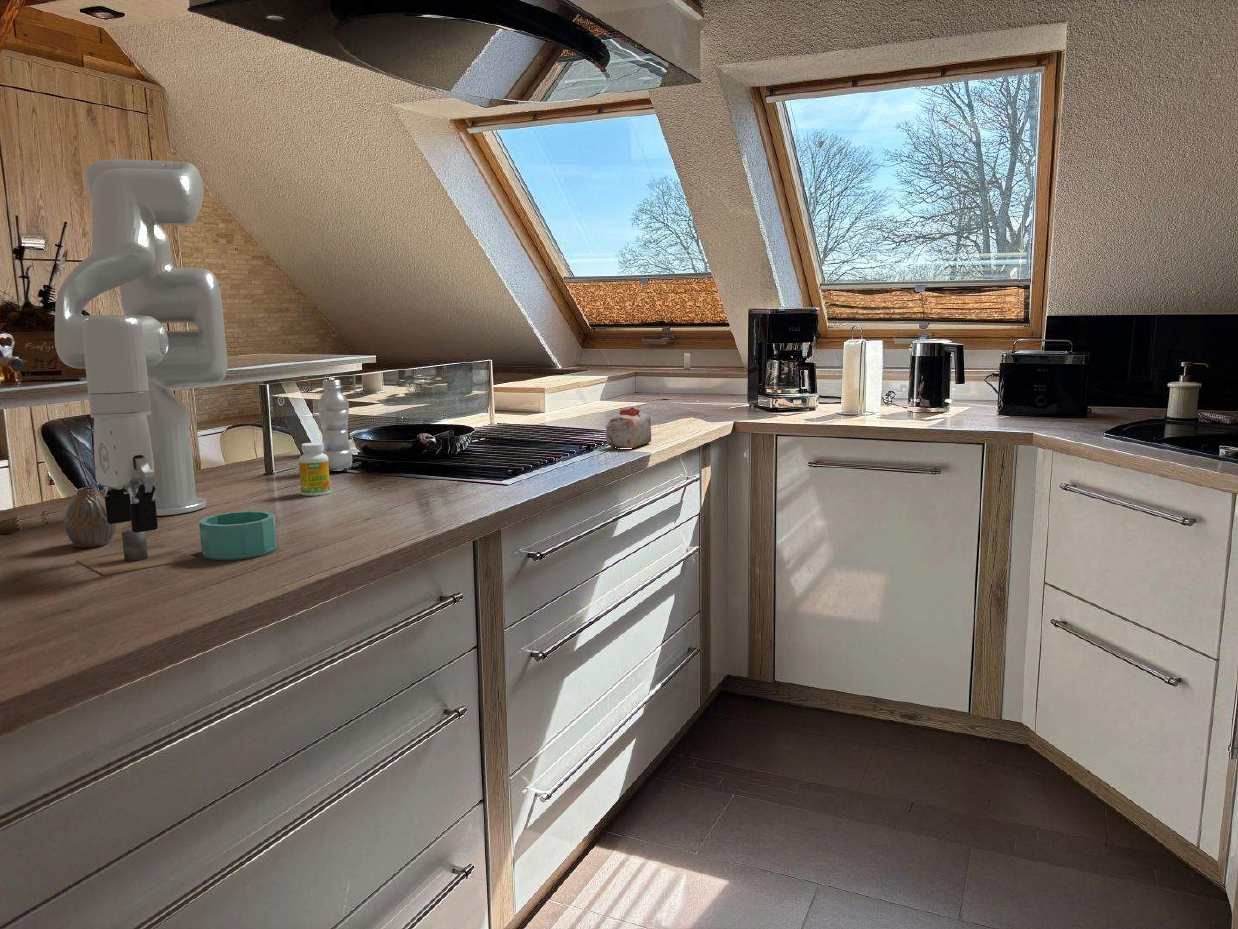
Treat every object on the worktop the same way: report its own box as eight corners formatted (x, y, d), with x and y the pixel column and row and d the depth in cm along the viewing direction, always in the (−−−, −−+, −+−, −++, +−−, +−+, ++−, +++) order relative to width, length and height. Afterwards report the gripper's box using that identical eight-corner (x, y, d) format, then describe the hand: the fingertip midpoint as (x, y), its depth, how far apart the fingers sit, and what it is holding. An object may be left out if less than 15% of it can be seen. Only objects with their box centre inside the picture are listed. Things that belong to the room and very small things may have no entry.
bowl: (191, 552, 139) (188, 519, 138) (257, 539, 146) (254, 508, 145) (221, 564, 132) (218, 529, 131) (288, 550, 139) (286, 517, 139)
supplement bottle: (308, 497, 179) (304, 446, 178) (296, 493, 183) (292, 444, 182) (335, 493, 183) (331, 443, 181) (323, 490, 187) (319, 441, 185)
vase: (126, 538, 149) (121, 483, 147) (104, 549, 142) (98, 492, 140) (82, 539, 148) (75, 484, 147) (57, 551, 142) (50, 493, 140)
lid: (77, 565, 136) (73, 532, 135) (164, 549, 144) (161, 518, 143) (106, 580, 127) (102, 546, 126) (196, 563, 136) (193, 530, 135)
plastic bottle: (329, 469, 212) (323, 379, 209) (358, 469, 211) (352, 379, 208) (316, 474, 206) (309, 381, 202) (345, 474, 205) (339, 381, 201)
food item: (633, 451, 231) (633, 411, 229) (603, 450, 234) (603, 410, 232) (654, 443, 243) (653, 405, 242) (625, 442, 246) (625, 404, 245)
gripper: (70, 405, 135) (82, 523, 137) (113, 410, 123) (126, 539, 126) (126, 401, 140) (137, 515, 143) (172, 405, 128) (183, 529, 131)
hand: (132, 526), depth 134 cm, fingers open, 9 cm apart
